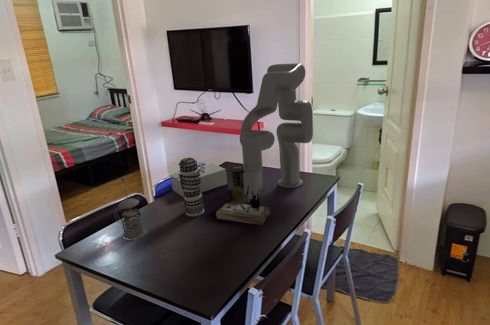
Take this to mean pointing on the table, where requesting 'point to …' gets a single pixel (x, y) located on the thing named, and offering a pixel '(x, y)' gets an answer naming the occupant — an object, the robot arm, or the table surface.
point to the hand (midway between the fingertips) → (255, 207)
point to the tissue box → (203, 178)
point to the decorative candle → (191, 187)
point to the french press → (135, 229)
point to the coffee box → (236, 185)
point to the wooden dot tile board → (242, 215)
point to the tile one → (229, 208)
